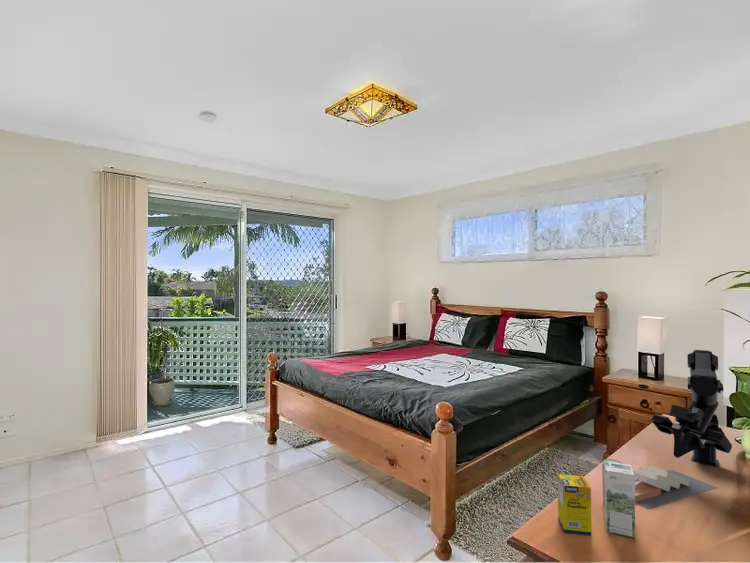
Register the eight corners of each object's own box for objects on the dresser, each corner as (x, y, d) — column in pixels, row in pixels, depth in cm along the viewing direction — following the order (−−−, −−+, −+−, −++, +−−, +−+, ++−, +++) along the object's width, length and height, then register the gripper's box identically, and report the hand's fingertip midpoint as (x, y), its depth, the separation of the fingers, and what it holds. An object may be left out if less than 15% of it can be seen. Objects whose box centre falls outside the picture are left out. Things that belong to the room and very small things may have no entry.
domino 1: (652, 477, 116) (629, 468, 112) (670, 485, 111) (647, 476, 108) (650, 483, 115) (627, 474, 112) (669, 491, 111) (645, 482, 107)
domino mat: (672, 471, 124) (671, 469, 124) (717, 489, 113) (717, 487, 113) (605, 489, 114) (605, 487, 114) (648, 511, 102) (648, 509, 102)
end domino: (642, 480, 114) (616, 487, 110) (660, 488, 109) (634, 496, 106) (642, 486, 114) (616, 493, 110) (660, 494, 109) (634, 502, 106)
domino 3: (671, 473, 119) (649, 464, 115) (689, 480, 114) (667, 471, 111) (669, 478, 118) (647, 469, 115) (688, 486, 114) (666, 477, 110)
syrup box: (632, 525, 97) (631, 463, 97) (636, 539, 91) (634, 474, 91) (604, 519, 99) (603, 459, 99) (606, 533, 94) (605, 469, 94)
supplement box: (592, 536, 93) (591, 487, 93) (563, 533, 94) (563, 485, 94) (584, 521, 99) (583, 475, 99) (557, 518, 100) (557, 473, 100)
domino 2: (661, 475, 117) (639, 466, 114) (680, 483, 112) (657, 474, 109) (660, 481, 117) (638, 472, 113) (679, 489, 112) (656, 480, 109)
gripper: (654, 387, 126) (629, 428, 122) (724, 403, 109) (699, 451, 105) (671, 410, 129) (648, 450, 125) (742, 429, 112) (718, 477, 108)
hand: (675, 456), depth 116 cm, fingers closed
